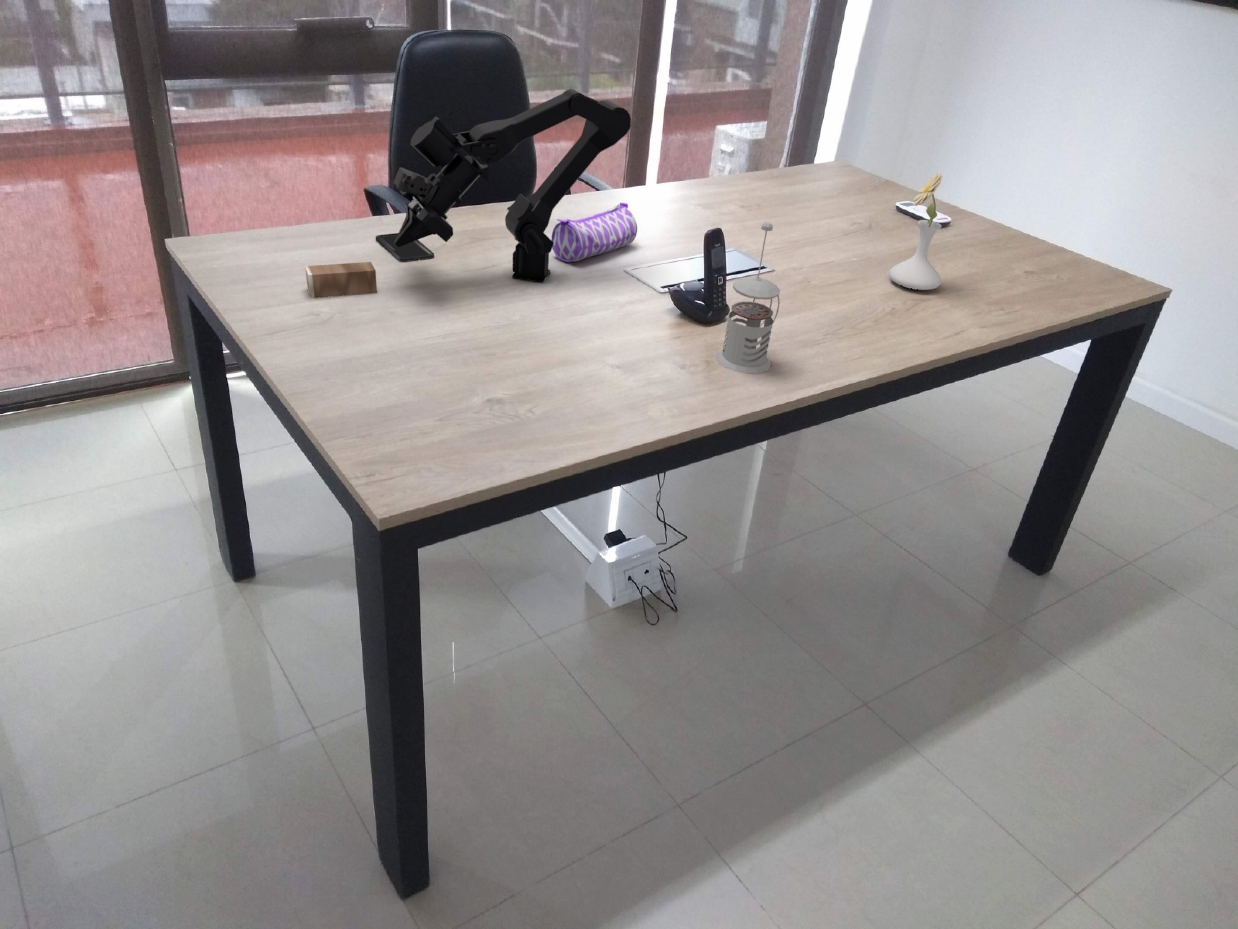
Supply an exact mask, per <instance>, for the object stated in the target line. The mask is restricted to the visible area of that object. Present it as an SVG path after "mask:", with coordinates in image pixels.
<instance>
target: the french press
mask: <svg viewBox="0 0 1238 929" xmlns="http://www.w3.org/2000/svg"><path fill="white" fill-rule="evenodd" d="M760 229H761V230H763V231H764V232H765V233H764V239H763V245H762V250H761V256H760V259H759V260H760V262H759V266H758V272H757V275H756V276H752V275H751V276H748V277H747V276H746V277H742V278H738V279H737V280H735V281H733V283H732V289H734V291H735V293H736V294H739V295H741V296H743V297H746V298H749V299H752V300H753V302H752V301H749V300H748V301H738V302H735V303H734V304H732V305H731V311H730V312H729V313H728V317H727V323H726V329H725V333H724V334H725V335H724V336H725V337H724V341H723V342H724V343H723V346H722V350H720V351H719V352H718V353H717V354H716V356H715V359H716V361H717V362H718V364H720V365H721V366H722V367H724V368H725V369H728V370H731V371H733V372H735V373H736V372H737V373H742V374H759V373H762V372H767V370H769V369H770V368H771V364H772V363H771V361H770V360H769V358H768V357H767V356H768V349H769V343H770V341H771V340H770V339H771V338H770V337H771V335H772V328H773V325H774V323H775V321H776V318H777V317H778V313H779V309H780V303H781V302H780V293H781V289H780V288H779V287H778V285H777V284H775V283H774V282H772V281H771V280H768V279H767V278H765V277H761V276H760V273H761V267H762V262H763V261H762V260H763V256H764V250H765V245H766V238H767V233H768V232H772V231H773V224H772V223H771V222H769V221H765V222H763V223H762V225H761V228H760ZM775 298H777V309H776V313H775V316H774V318H773V317H772V316H773V314H774V311H773V309H772V304H773V299H775ZM756 300H770V304H769V306H767V305H765V304H762V303H759V302H756ZM736 316H737V317H736ZM733 317H736V318H733ZM738 317H739V318H738ZM732 318H733V319H732ZM761 322H762V323H761ZM740 323H743V324H745V325H743V324H740ZM759 339H760V340H759ZM758 340H759V341H758ZM759 345H760V346H759ZM757 346H759V347H757Z"/></svg>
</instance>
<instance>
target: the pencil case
mask: <svg viewBox="0 0 1238 929" xmlns="http://www.w3.org/2000/svg"><path fill="white" fill-rule="evenodd" d="M628 208H629V205H628V203H626V202H619V203H618V204H617V205H615V206H613V207H612V208H610V209H607V210H605V211H603V212H598V213H596V214H594V215H591V216H587V217H583V218H579V219H575V220H574V219H573V220H571V219H559V218H557V219H556V221H558V222H557V223H556V224H555V225H554V227H553V229H552V231H551V232H552V233H551V239H550V240H551V241H553V243H554V244H553V247H552V250H553V253H554V255H555V256H556V257H557V258H558V259H560V260H561V261H563V262H565V263H573V262H578V261H581V260H583V259H586V258H591V257H594V256H599V255H602V254H604V253H608V252H611V251H614V250H616V249H620V248H622V247H626V246H628V245H630V244H632V243H633V242H634V241H635V239H636V237H637V234H638V223H637V221H636V219H635V216H634V215H633V213H632V212H631V211H630V210H629V209H628Z"/></svg>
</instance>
